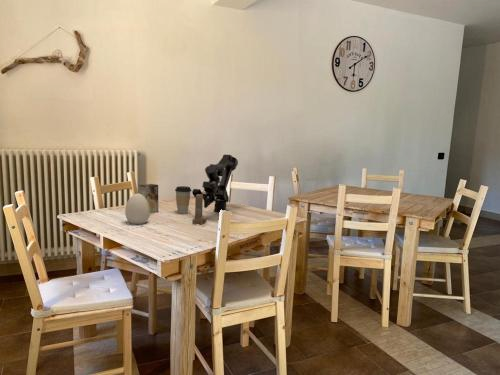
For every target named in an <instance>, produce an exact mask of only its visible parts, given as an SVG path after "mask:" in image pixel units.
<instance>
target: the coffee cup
mask: <svg viewBox="0 0 500 375" xmlns="http://www.w3.org/2000/svg"><path fill="white" fill-rule="evenodd" d="M174 192H175V200H176V201H175V202H176V207H177V209H176V210H177V213H178V214H181V215H183V214H184V215H185V214H188V213H189V205H190V200H191V192H192V189H191V186H177V187H175V191H174Z"/></svg>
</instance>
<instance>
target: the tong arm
mask: <svg viewBox="0 0 500 375" xmlns="http://www.w3.org/2000/svg"><path fill="white" fill-rule="evenodd" d="M196 196H202V205H201V218H202V217H203V207H204V200H203V195H201V194H197V195H196Z"/></svg>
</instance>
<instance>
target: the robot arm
mask: <svg viewBox="0 0 500 375" xmlns="http://www.w3.org/2000/svg"><path fill="white" fill-rule="evenodd" d="M238 165H239V160H238V159H237V158H236V157H235V156H233V155H231V154H223V155H222V157H221V159H220V160H219V162H217V163H216V164H214V163H213V164H212V163H210V164H209V165H208V166H206V167H205V169H204V171H205V174H206V176H207V178H208V181H203V182H202V186H201V188H203V190H202V191H201V189H200V188H193V189H192V190H191V192H192V195H193V197H194V198H195V199H196V195H197V194H201V195H203V207H204V209H207V208H208V207H210V205H211V204H212V203H214V209H213V210H214V211H213V212H216V211H220V210H221V209H222V210H227V203H230V202H229V201H230V200H229V199H230V197H229V195H228V191H227V188H228V186H229V185H228V184H229V181H230V179H231V175H232V173H233V171H235V170H236V168H237V166H238ZM220 177H221V178H220Z"/></svg>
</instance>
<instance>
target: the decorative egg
mask: <svg viewBox="0 0 500 375" xmlns="http://www.w3.org/2000/svg"><path fill="white" fill-rule="evenodd" d="M124 214H125V219H126V220H127V221H128V223H129V224H132V225H142V224H145V223H147V221H148V220H149V219H150V216H151V213H150V206H149V203H148V201H147V199H146V198H145V197H144V196H143V195H141V194H139V193H135V194H133V195H132V196H130V197H129V199H128V200H127V203H126V205H125V211H124Z"/></svg>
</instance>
